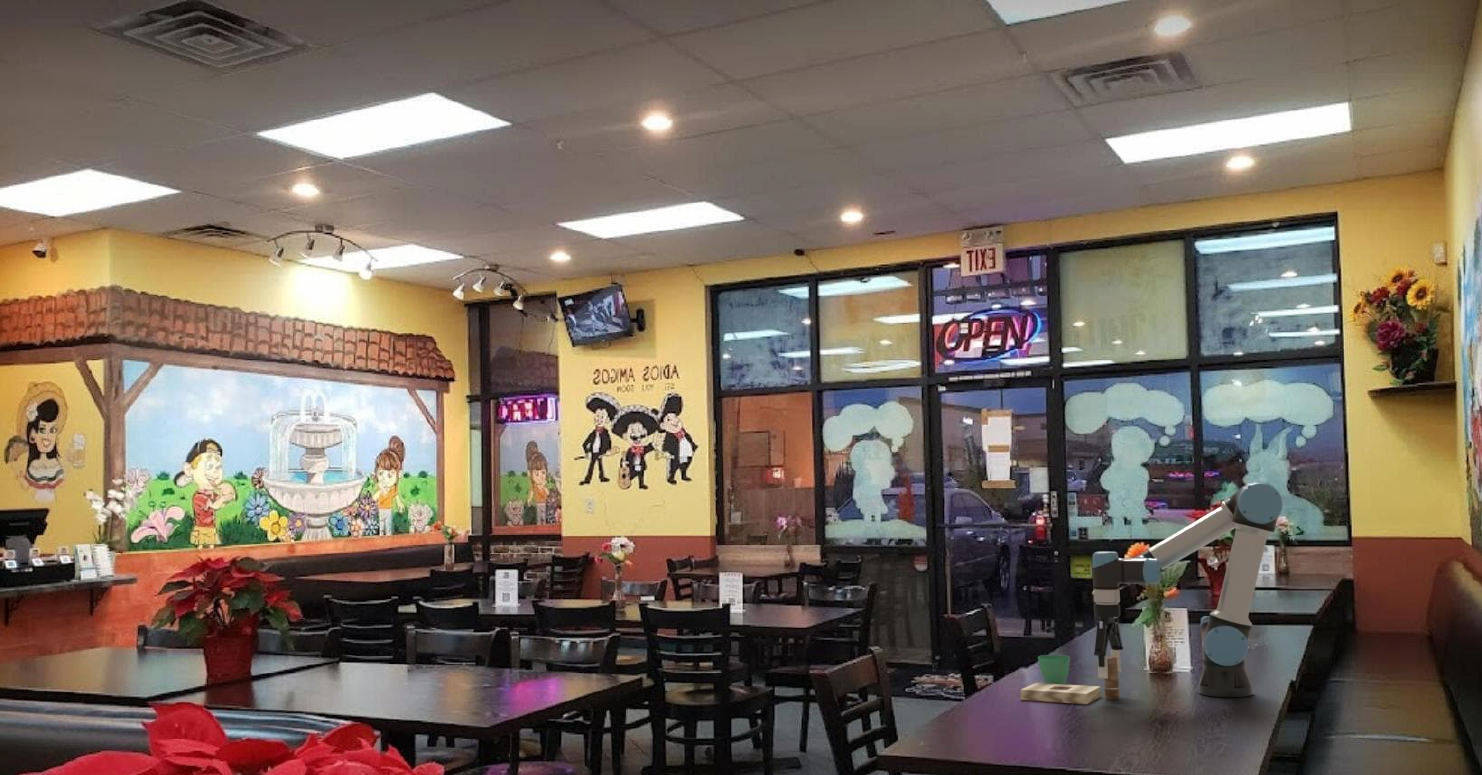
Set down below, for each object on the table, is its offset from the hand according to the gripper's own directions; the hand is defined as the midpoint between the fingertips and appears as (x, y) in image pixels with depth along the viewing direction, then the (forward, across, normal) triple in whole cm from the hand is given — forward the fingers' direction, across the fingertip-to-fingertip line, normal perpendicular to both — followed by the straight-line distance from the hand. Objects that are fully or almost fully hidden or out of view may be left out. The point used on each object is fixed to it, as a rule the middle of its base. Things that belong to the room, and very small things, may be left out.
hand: (1109, 674), depth 359 cm
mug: (+8, -13, -20) cm, 25 cm away
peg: (+7, 0, 0) cm, 7 cm away
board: (+7, +5, -14) cm, 16 cm away
